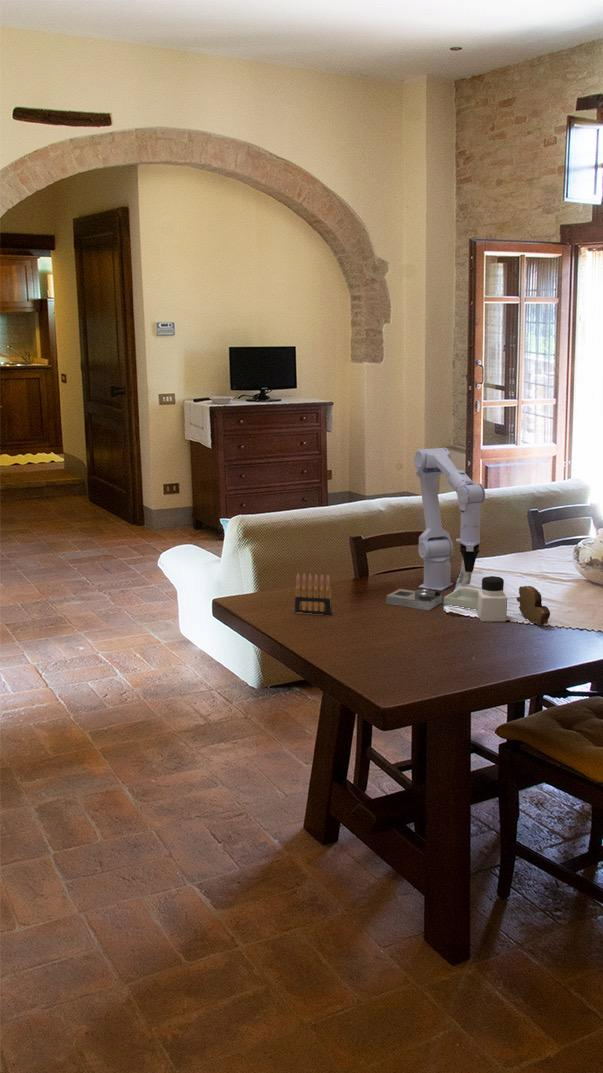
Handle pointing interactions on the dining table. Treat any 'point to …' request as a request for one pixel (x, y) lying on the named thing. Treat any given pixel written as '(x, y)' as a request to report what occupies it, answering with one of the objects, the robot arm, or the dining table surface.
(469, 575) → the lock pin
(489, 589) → the medicine bottle
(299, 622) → the dining table surface
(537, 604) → the wooden carving
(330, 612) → the ammunition clip
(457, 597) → the tray
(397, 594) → the grey fixture block
